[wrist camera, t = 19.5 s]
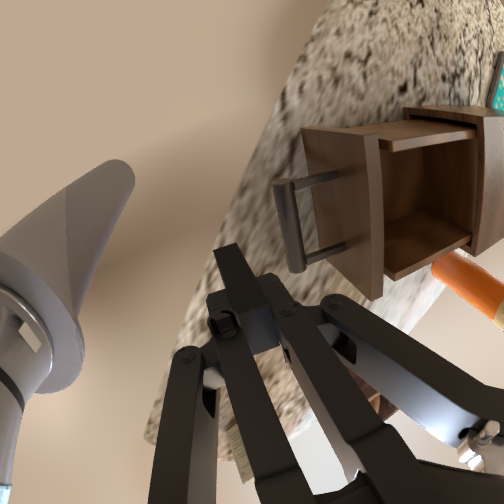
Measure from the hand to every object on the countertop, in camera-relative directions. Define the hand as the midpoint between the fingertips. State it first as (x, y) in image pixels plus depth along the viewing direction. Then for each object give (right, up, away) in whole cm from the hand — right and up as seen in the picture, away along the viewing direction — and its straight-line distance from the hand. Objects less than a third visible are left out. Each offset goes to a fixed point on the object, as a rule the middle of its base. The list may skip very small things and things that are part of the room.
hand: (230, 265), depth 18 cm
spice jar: (+30, -1, +19) cm, 35 cm away
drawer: (+11, +7, +8) cm, 16 cm away
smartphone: (+43, +27, +9) cm, 52 cm away
